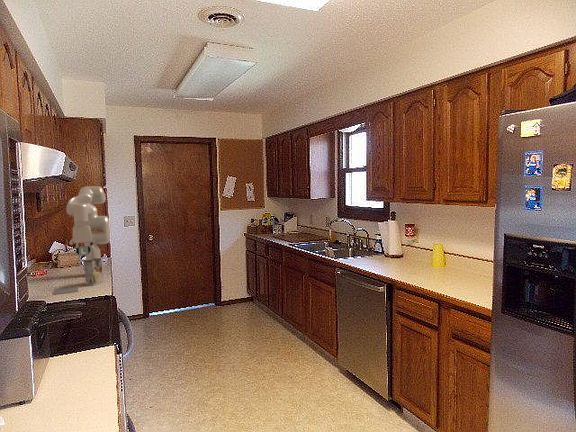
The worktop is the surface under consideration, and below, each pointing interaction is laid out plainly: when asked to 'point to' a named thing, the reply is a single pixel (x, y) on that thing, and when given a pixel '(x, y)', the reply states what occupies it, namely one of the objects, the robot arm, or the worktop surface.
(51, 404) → the worktop surface
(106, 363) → the worktop surface
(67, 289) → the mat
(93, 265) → the coffee box
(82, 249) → the letter cube
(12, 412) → the worktop surface
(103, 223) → the robot arm
